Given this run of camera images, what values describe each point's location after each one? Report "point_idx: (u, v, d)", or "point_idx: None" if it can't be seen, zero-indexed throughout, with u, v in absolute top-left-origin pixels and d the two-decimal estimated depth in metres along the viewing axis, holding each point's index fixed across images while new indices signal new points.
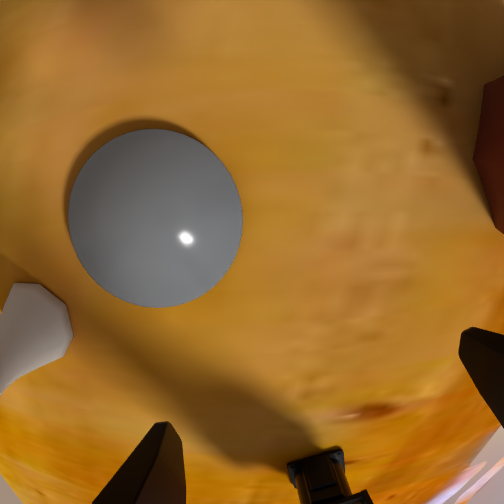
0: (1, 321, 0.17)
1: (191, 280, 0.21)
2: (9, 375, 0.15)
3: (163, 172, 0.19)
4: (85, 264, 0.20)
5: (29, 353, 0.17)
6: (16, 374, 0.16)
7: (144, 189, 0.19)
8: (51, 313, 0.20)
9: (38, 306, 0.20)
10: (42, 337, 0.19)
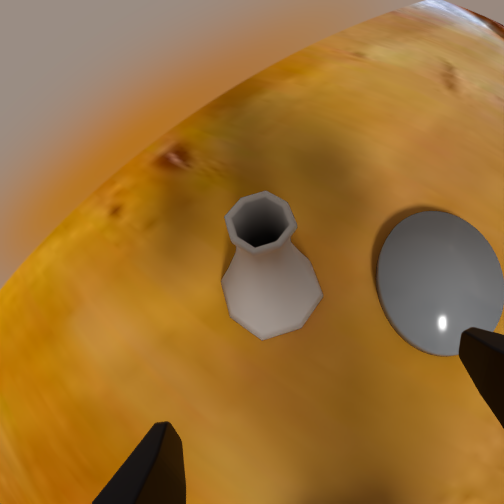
0: (278, 237, 0.20)
1: (456, 337, 0.19)
2: (282, 260, 0.16)
3: (469, 252, 0.22)
4: (382, 273, 0.22)
5: (293, 279, 0.18)
6: (272, 275, 0.17)
7: (455, 254, 0.22)
8: (316, 285, 0.21)
9: (309, 269, 0.22)
10: (303, 287, 0.20)
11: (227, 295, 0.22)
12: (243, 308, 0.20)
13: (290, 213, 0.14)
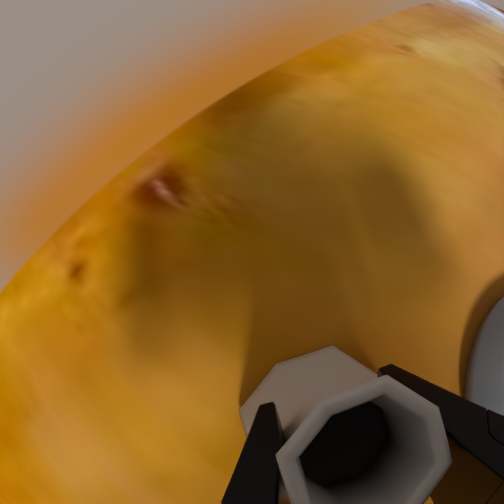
0: (351, 374, 0.10)
1: None
2: None
3: None
4: (477, 387, 0.12)
5: (378, 459, 0.08)
6: (352, 483, 0.07)
7: None
8: None
9: None
10: (382, 448, 0.09)
11: None
12: None
13: (442, 437, 0.04)
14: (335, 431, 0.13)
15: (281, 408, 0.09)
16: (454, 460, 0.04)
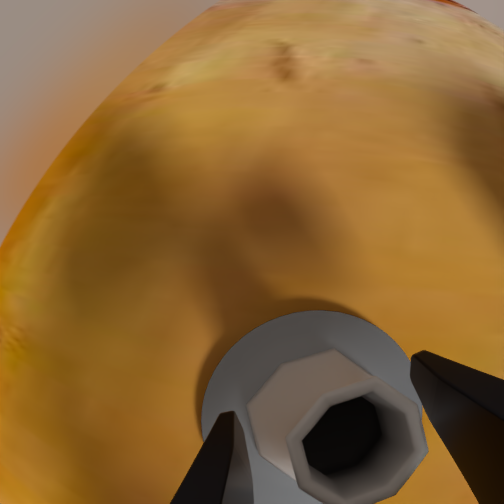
0: (349, 375, 0.11)
1: None
2: (372, 463, 0.07)
3: None
4: None
5: (370, 452, 0.09)
6: (346, 470, 0.08)
7: None
8: None
9: None
10: (374, 443, 0.11)
11: (257, 434, 0.13)
12: (284, 465, 0.11)
13: (420, 429, 0.05)
14: (333, 427, 0.14)
15: (286, 403, 0.11)
16: (493, 435, 0.04)
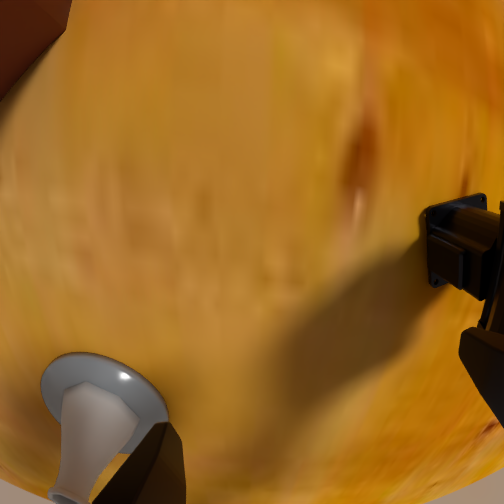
0: (61, 441, 0.18)
1: (137, 396, 0.22)
2: (79, 473, 0.15)
3: None
4: None
5: (85, 443, 0.17)
6: (91, 468, 0.16)
7: None
8: (80, 398, 0.20)
9: (71, 404, 0.20)
10: (87, 422, 0.18)
11: None
12: (121, 446, 0.20)
13: (53, 493, 0.12)
14: None
15: None
16: None
